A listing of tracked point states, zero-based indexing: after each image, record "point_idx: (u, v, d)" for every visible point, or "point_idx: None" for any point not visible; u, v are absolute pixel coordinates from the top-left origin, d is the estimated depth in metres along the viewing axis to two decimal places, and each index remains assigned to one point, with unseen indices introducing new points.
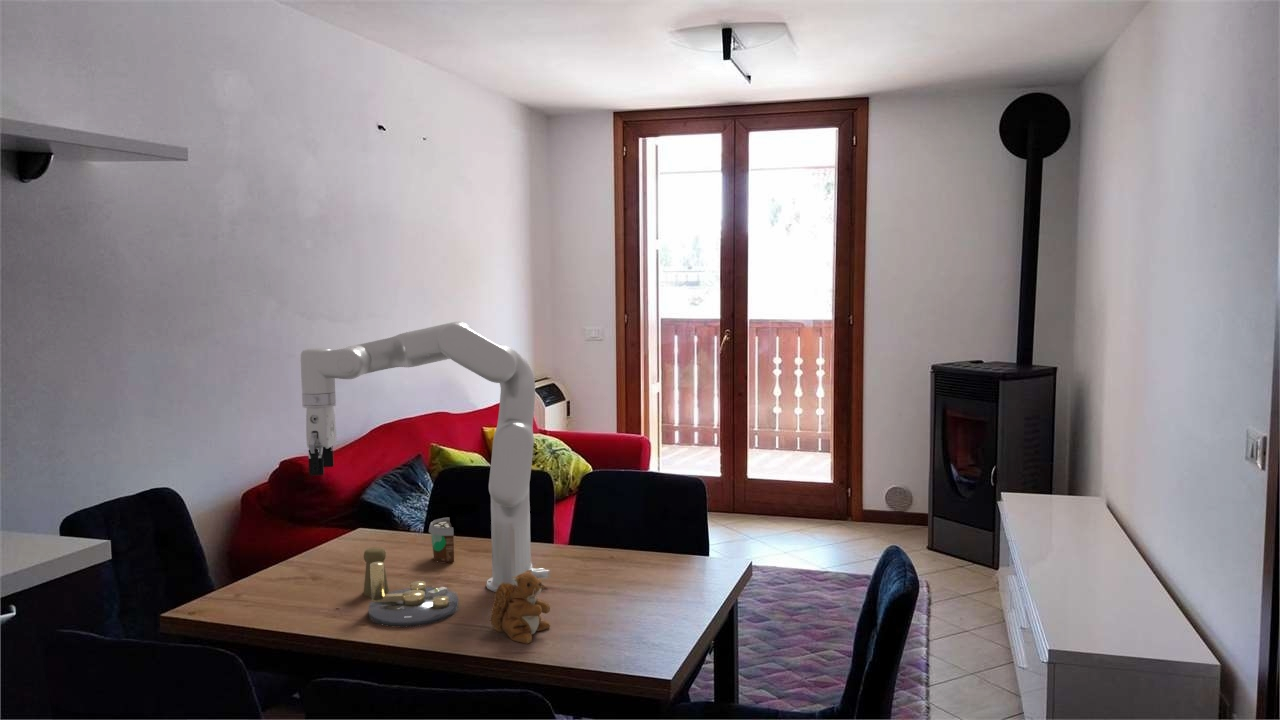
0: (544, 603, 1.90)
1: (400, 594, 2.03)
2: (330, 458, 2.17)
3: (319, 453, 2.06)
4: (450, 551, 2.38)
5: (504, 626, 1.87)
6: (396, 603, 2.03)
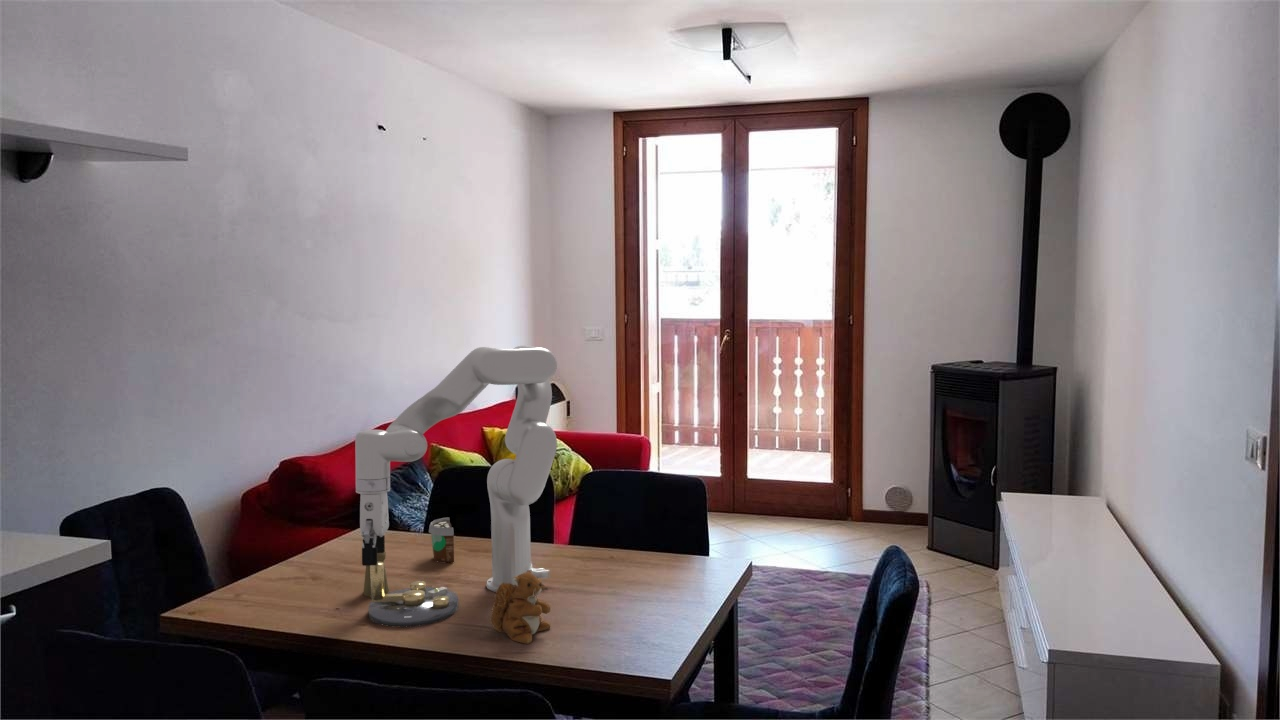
0: (544, 603, 1.89)
1: (400, 594, 2.03)
2: (381, 544, 2.06)
3: (374, 543, 1.96)
4: (450, 551, 2.38)
5: (505, 626, 1.87)
6: (396, 603, 2.03)
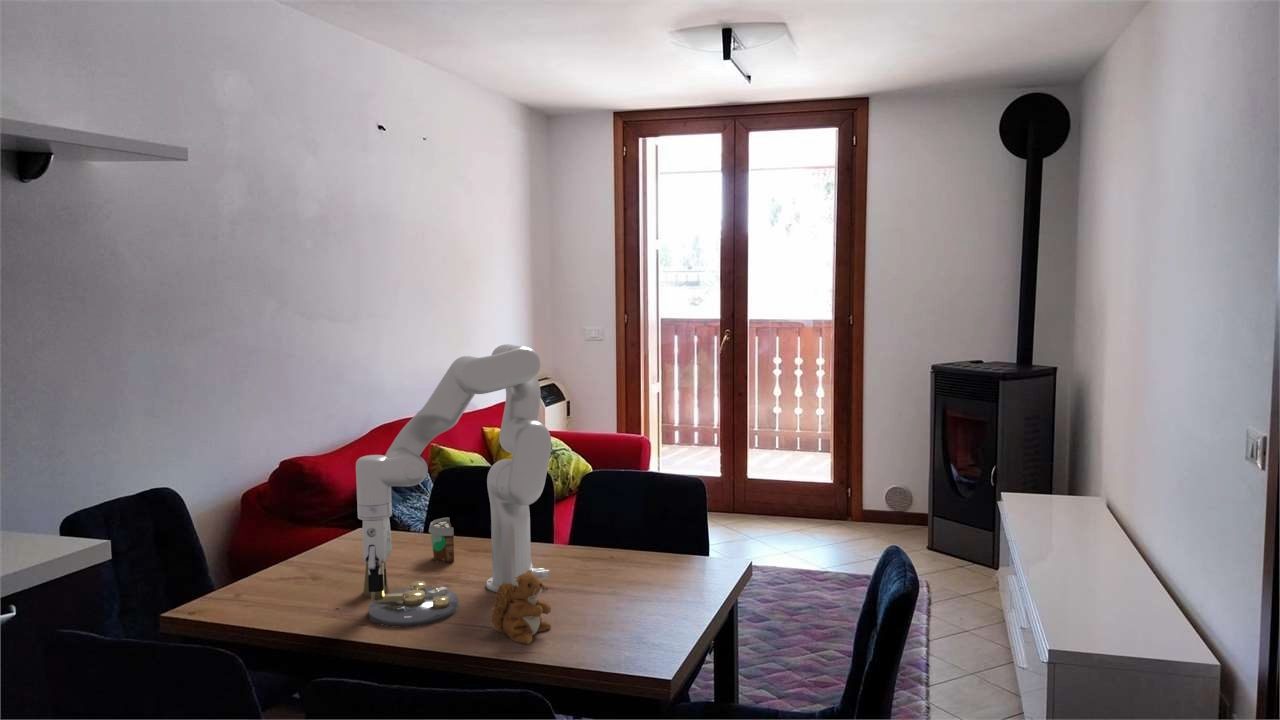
0: (545, 604, 1.89)
1: (400, 594, 2.03)
2: None
3: (379, 571, 1.99)
4: (450, 551, 2.38)
5: (505, 627, 1.87)
6: (396, 603, 2.03)
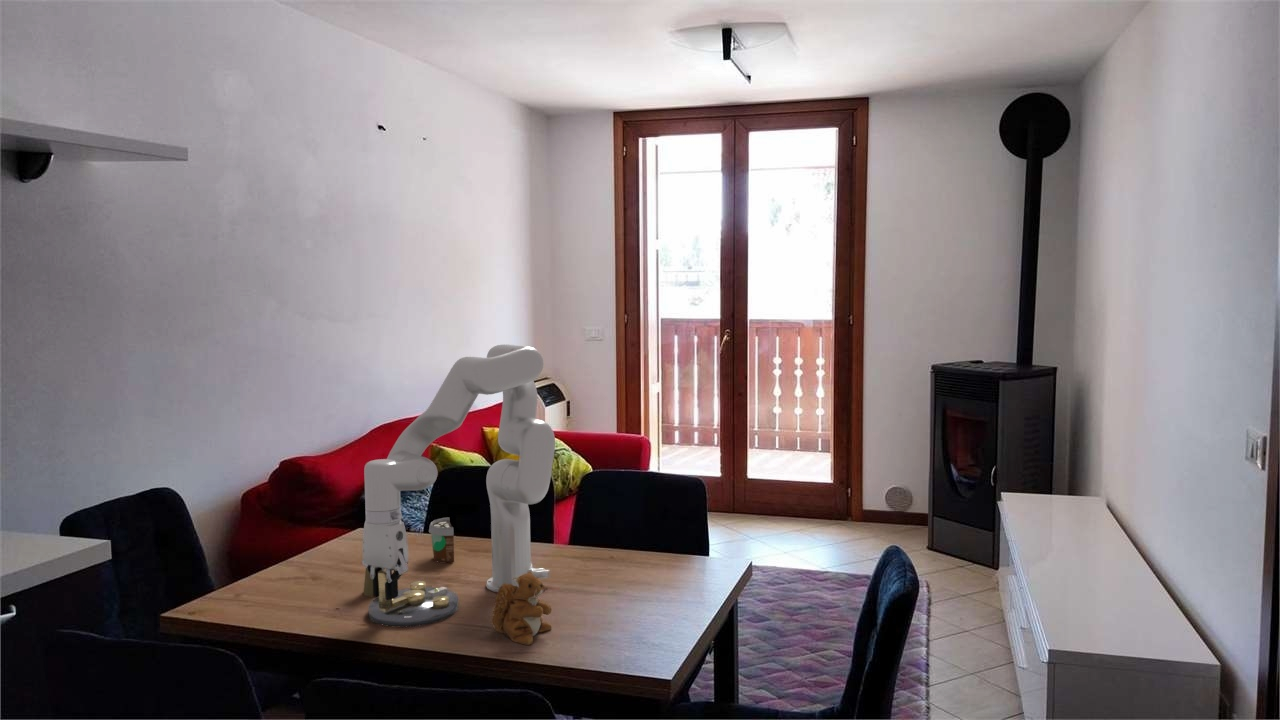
0: (545, 604, 1.89)
1: (403, 597, 2.01)
2: None
3: (399, 576, 1.96)
4: (450, 551, 2.38)
5: (506, 627, 1.87)
6: None
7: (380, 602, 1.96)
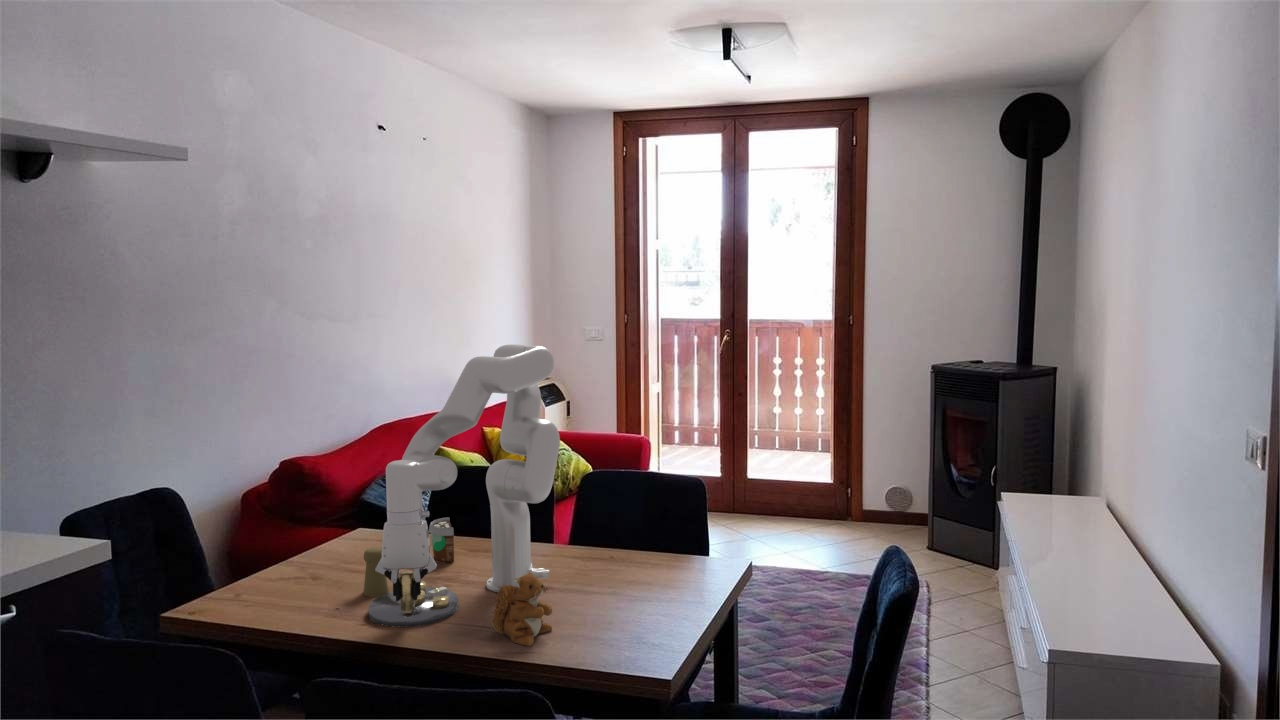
0: (546, 605, 1.88)
1: None
2: None
3: None
4: (450, 551, 2.38)
5: (506, 628, 1.86)
6: (396, 603, 2.03)
7: (406, 604, 1.94)
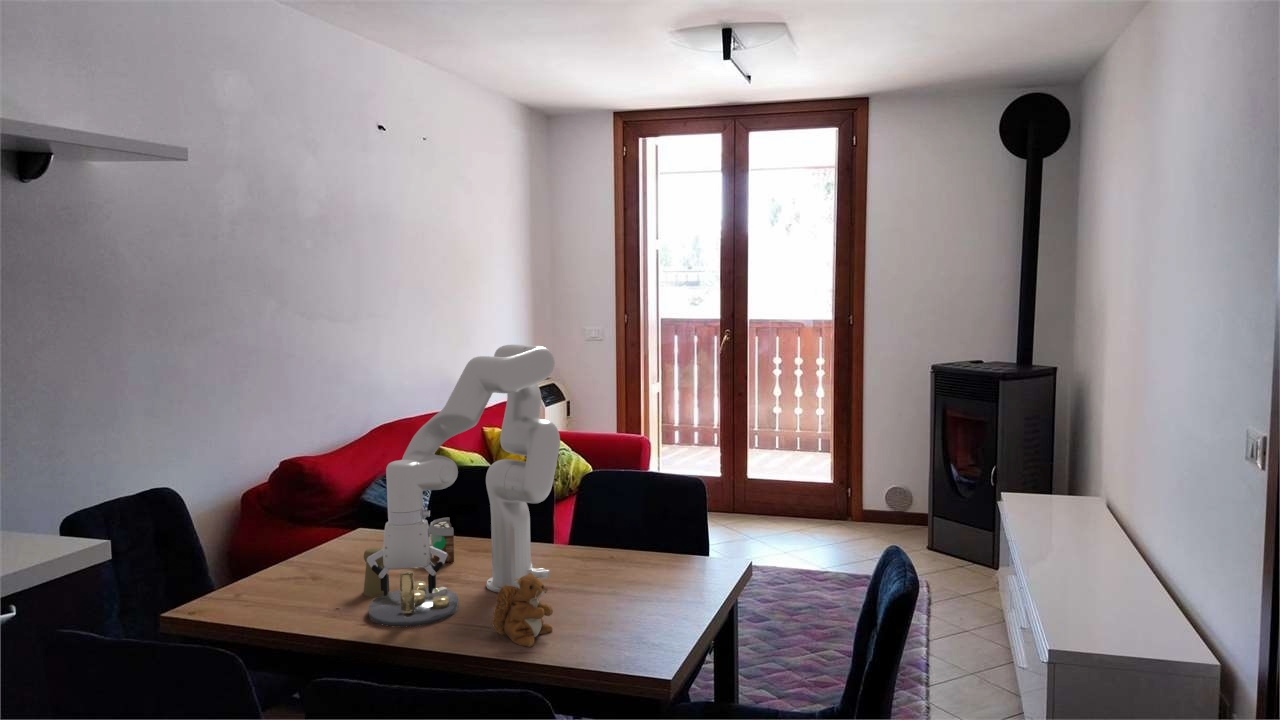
0: (547, 606, 1.88)
1: None
2: (388, 582, 1.96)
3: None
4: (450, 551, 2.38)
5: (507, 629, 1.86)
6: (396, 603, 2.03)
7: (406, 604, 1.94)
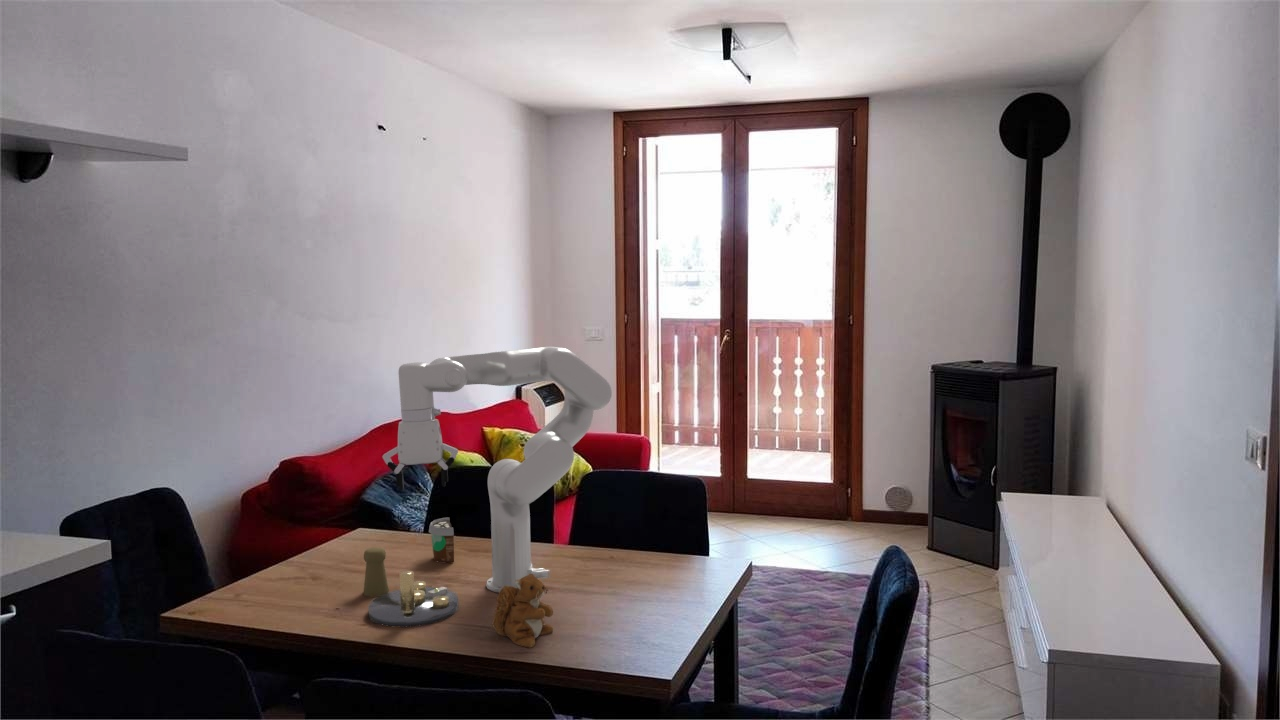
0: (547, 606, 1.88)
1: None
2: (403, 478, 2.09)
3: None
4: (450, 551, 2.38)
5: (507, 630, 1.85)
6: (396, 603, 2.03)
7: (406, 604, 1.94)
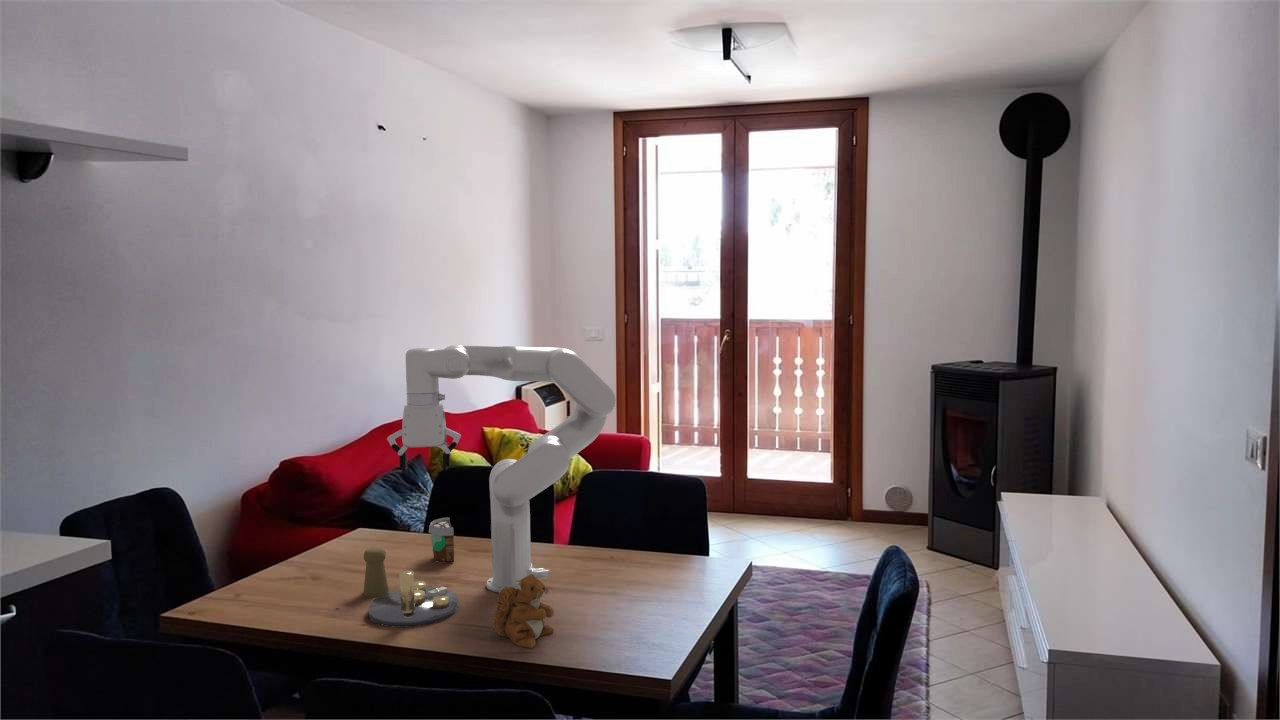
0: (548, 607, 1.87)
1: None
2: (406, 461, 2.14)
3: None
4: (450, 551, 2.38)
5: (508, 631, 1.85)
6: (396, 603, 2.03)
7: (406, 604, 1.94)
